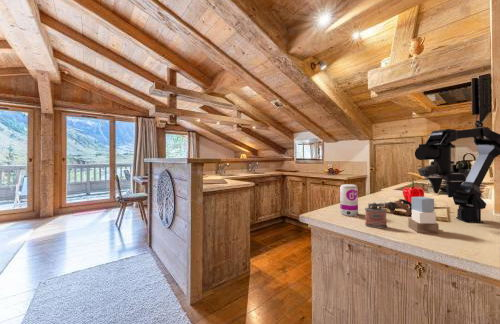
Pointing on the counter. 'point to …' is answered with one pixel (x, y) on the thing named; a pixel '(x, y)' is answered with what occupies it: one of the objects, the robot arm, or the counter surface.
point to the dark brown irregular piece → (394, 205)
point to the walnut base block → (423, 227)
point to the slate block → (422, 204)
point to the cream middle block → (424, 217)
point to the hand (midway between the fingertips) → (442, 195)
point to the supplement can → (348, 200)
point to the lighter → (376, 215)
